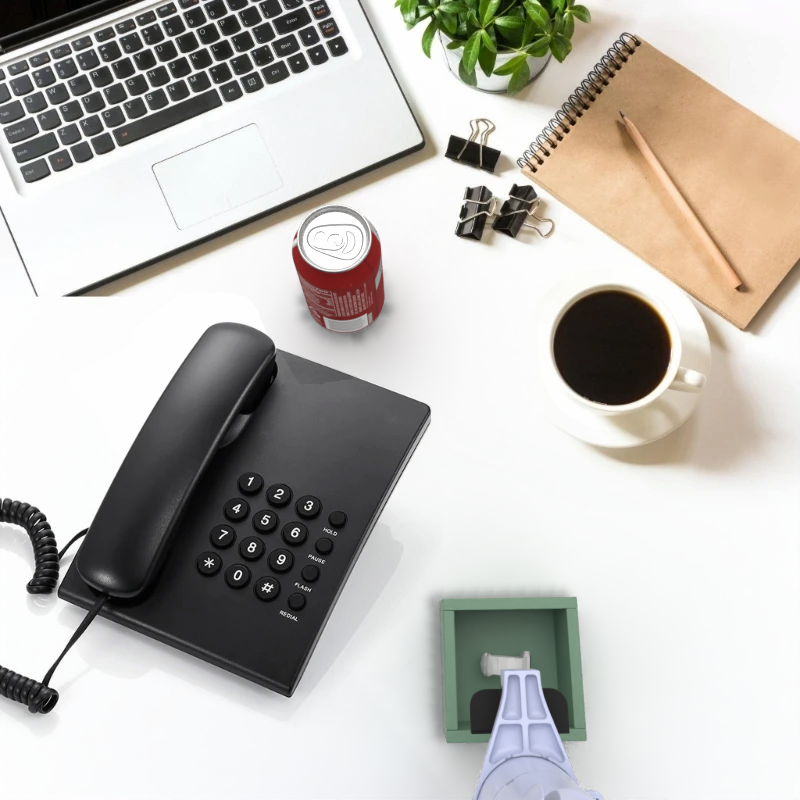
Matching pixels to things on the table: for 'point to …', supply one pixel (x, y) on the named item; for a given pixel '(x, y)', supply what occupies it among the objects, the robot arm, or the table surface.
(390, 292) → the table surface
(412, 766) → the table surface
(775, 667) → the table surface
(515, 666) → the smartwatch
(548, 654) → the bin
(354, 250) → the soda can
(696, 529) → the table surface
